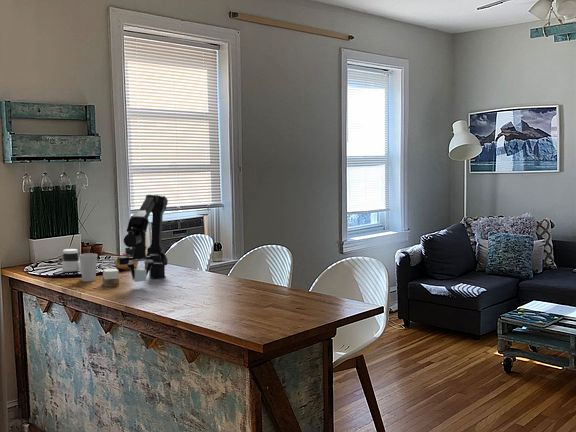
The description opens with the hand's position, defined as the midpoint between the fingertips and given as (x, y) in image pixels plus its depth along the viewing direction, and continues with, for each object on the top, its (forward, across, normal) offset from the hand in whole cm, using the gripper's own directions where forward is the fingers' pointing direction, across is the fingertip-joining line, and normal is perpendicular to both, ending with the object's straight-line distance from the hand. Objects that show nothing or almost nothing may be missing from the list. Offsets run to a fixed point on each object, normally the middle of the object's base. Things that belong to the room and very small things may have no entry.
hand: (139, 278), depth 278 cm
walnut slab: (+5, +10, -11) cm, 16 cm away
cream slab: (+1, +10, -11) cm, 15 cm away
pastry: (+5, -6, -45) cm, 46 cm away
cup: (+5, +17, -25) cm, 31 cm away
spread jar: (+5, +20, -43) cm, 48 cm away
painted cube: (+1, 0, 0) cm, 1 cm away
